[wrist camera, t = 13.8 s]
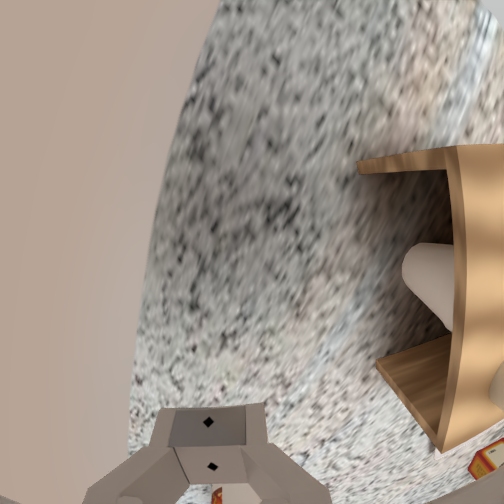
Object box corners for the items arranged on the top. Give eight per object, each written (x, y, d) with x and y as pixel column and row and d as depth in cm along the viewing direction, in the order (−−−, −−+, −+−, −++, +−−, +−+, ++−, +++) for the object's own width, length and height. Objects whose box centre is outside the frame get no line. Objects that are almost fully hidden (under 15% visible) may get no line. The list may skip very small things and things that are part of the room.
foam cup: (400, 313, 38) (456, 358, 26) (382, 249, 36) (445, 277, 24) (454, 281, 38) (517, 313, 25) (440, 219, 36) (510, 234, 23)
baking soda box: (503, 437, 48) (537, 473, 32) (494, 455, 49) (525, 491, 34) (476, 451, 47) (510, 493, 32) (467, 469, 49) (498, 509, 33)
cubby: (356, 161, 34) (456, 145, 17) (454, 151, 35) (559, 143, 17) (376, 368, 40) (441, 454, 22) (461, 337, 40) (537, 394, 22)
